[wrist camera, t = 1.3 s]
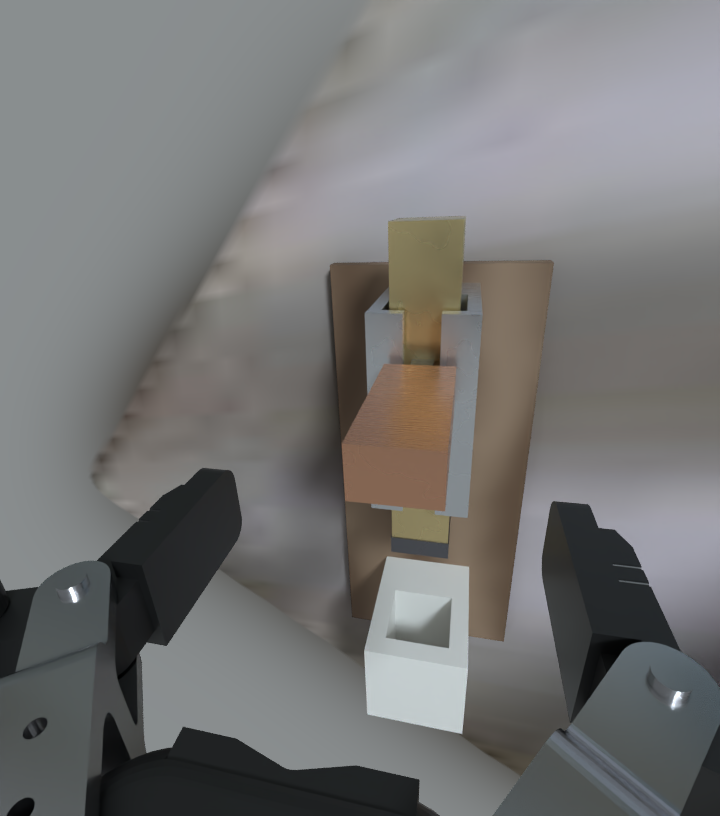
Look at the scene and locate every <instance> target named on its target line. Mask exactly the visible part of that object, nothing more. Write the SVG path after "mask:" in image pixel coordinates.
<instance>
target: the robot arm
mask: <svg viewBox="0 0 720 816" xmlns="http://www.w3.org/2000/svg"><path fill="white" fill-rule="evenodd" d="M241 525H242V517H241V511H240V505H239V500H238V494H237V489H236V483H235V478H234V475H233V473H232V472H231V471H229V470H219V469H208V468H202V469H200V470H199V471H198V472H197V473H196V474H195V475H194V476H193V477H192V478H191V479H190V480H189V481H188V482H187V483H186V484H185V485H180V486H178V487H177V488H175V489H173V490H171V491H170V492H168V493H166V494H164V495H163V496H162V497H161V498H160V499H159V500H158V501H157V502H156V503H155V504H154V505H153V506H152V507H151V508H150V511H147V512H146V513H145V514H144V515H143V516H142V517H141V518H140V519H139V522H136V523H135V524H133V526H131V527H130V528H129V529H128V530H127V532H125V533H124V534H123V535H122V536H121V537H120V538H119V539H118V540H117V541H116V543H114V544H113V545H112V546H111V547H110V548H109V549H108V550H107V551H106V552H105V553H104V554H103V555H102V556H101V557H100V558H99V559H98V560H97V561H83V562H79V563H75V564H72V565H69V566H67V567H65V568H63V569H61V570H59V571H57V572H56V573H54V574H53V575H51V576H50V577H48V578H47V579H46V580H45V581H44V582H43V583H42V584H41V585H40V586H39V587H35V588H26V589H18V590H10V591H5V589H4V587H3V585H2V583H1V581H0V816H439V815H438V814H436V812H434V811H433V810H431V809H430V808H428V807H426V806H425V805H423V804H421V803H420V802H419V780H418V779H414V778H409V777H405V776H401V775H396V774H391V773H387V772H383V771H378V770H373V769H369V768H365V767H360V766H344V767H332V768H318V769H306V770H289V769H286V768H284V767H282V766H280V765H279V764H277V763H275V762H274V761H272V760H270V759H269V758H267V757H265V756H264V755H262V754H261V753H259V752H257V751H255V750H254V749H252V748H251V747H249V746H247V745H246V744H244V743H243V742H241V741H239V740H238V739H235V738H231V737H226V736H222V735H217V734H213V733H208V732H204V731H200V730H195V729H191V728H186V727H183V728H182V730H181V732H180V734H179V736H178V737H177V739H176V741H175V743H174V745H173V747H172V748H166V749H161V750H156V751H152V752H149V753H146V748H145V741H144V725H143V724H144V722H143V691H142V662H141V657H140V654H139V652H140V651H141V649H142V648H143V647H144V645H145V644H146V642H148V643H154V644H159V645H164V646H167V645H168V643H169V641H170V640H171V639H172V637H173V635H174V634H175V632H176V631H177V629H178V628H179V627H180V625H181V624H182V622H183V620H184V619H185V617H186V616H187V615H188V613H189V612H190V610H191V609H192V607H193V606H194V604H195V603H196V601H197V600H198V598H199V596H200V595H201V593H202V592H203V591H204V589H205V588H206V586H207V585H208V583H209V582H210V580H211V579H212V577H213V576H214V574H215V573H216V571H217V570H218V568H219V567H220V565H221V564H222V562H223V561H224V559H225V558H226V556H227V555H228V553H229V552H230V550H231V549H232V547H233V546H234V544H235V543H236V541H237V539H238V537H239V534H240V531H241ZM542 577H543V584H544V589H545V594H546V600H547V605H548V610H549V615H550V621H551V626H552V631H553V636H554V641H555V647H556V652H557V657H558V662H559V668H560V673H561V678H562V683H563V688H564V694H565V699H566V704H567V709H568V715H569V720H570V723H572V724H571V725H570V726H569V727H568V729H567V730H565V731H563V730H562V729H558V730H556V731H555V732H554V733H553V734H552V735H551V736H550V737H549V739H548V740H547V741H546V743H545V744H544V745H543V747H542V748H541V750H540V751H539V752H538V754H537V755H536V756H535V758H534V759H533V761H532V762H531V763H530V765H529V766H528V767H527V769H526V770H525V772H524V773H523V774H522V776H521V777H520V779H519V780H518V781H517V783H516V784H515V785H514V787H513V788H512V790H511V791H510V792H509V794H508V795H507V796H506V798H505V799H504V801H503V802H502V803H501V805H500V806H499V808H498V809H497V810H496V812H495V813H494V815H493V816H720V688H719V686H718V685H717V683H716V682H715V680H714V679H713V678H712V677H711V675H710V674H709V673H708V672H707V671H706V670H705V669H704V668H703V667H702V666H701V665H699V664H698V663H697V662H696V661H694V660H693V659H692V658H690V657H689V656H687V655H685V654H684V653H682V652H681V651H680V649H679V647H678V644H677V642H676V640H675V638H674V636H673V634H672V631H671V629H670V627H669V625H668V623H667V621H666V619H665V616H664V614H663V612H662V610H661V608H660V606H659V603H658V601H657V599H656V597H655V595H654V593H653V590H652V588H651V587H649V582H648V580H647V577H646V575H645V573H644V571H643V570H641V565H640V562H639V560H638V558H637V556H636V554H635V552H634V549H633V547H632V546H631V545H630V544H629V543H628V542H627V541H626V540H625V539H624V538H622V537H621V536H620V535H619V534H618V533H617V532H616V531H615V530H612V529H602V528H598V526H597V523H596V520H595V518H594V515H593V513H592V510H591V508H590V506H589V505H588V504H577V503H567V502H556V501H553V502H552V504H551V507H550V513H549V519H548V524H547V530H546V536H545V542H544V548H543V555H542Z"/></svg>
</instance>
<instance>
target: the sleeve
mask: <svg viewBox="0 0 720 816" xmlns="http://www.w3.org/2000/svg"><path fill="white" fill-rule="evenodd" d="M482 316H483V313H482V300H481V286H480V283H462V300H461V311H442V322H441V350H440V366H457V367H456V386H455V405H454V419H453V430H452V441H451V452H450V463H449V474H448V485H447V496H446V507H445V511H435V515H444V516H453V517H463V518H468V507H469V493H470V479H471V466H472V452H473V438H474V425H475V411H476V398H477V384H478V370H479V357H480V343H481V330H482ZM365 338H366V367H367V395H368V393H369V391H370V389H371V387H372V386H373V384H374V382H375V380H376V378H377V376H378V374H379V372H380V370H381V369H382V367H383V365H384V364H404V310H389V287H388V288H387V289H386V290H385V292H384V293H383V294H382V295H381V296H380V297H379V298H378V299H377V300H376V301H375V302H374V304H373V305H372V306H371V307H370V308H369V309H368V310H367V311H366V312H365ZM371 508H378V509H388V510H397V511H403V507H397V506H388V505H378V504H371Z"/></svg>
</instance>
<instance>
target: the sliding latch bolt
mask: <svg viewBox="0 0 720 816" xmlns="http://www.w3.org/2000/svg"><path fill="white" fill-rule="evenodd" d="M465 225H466V216H449V217H418V218H398V219H395V220H392V221H388V241H389V310H404V364H384V365H383V367H382V369H381V370H380V372H379V374H378V376H377V378H376V380H375V382H374V384H373V386H372V387H371V389H370V391H369V393H368V395H367V397H366V399H365V401H364V403H363V404H362V406H361V408H360V410H359V412H358V414H357V416H356V418H355V420H354V421H353V423H352V425H351V427H350V429H349V431H348V433H347V435H346V436H345V438H344V440H343V442H342V456H343V472H344V488H345V501H349V502H359V503H369V504H378V505H388V506H397V507H403V511H397V510H392V535H391V552H398V553H406V554H414V555H422V556H430V557H438V558H446V559H448V550H449V536H450V522H451V516H444V515H435V511H445V507H446V496H447V485H448V474H449V463H450V452H451V441H452V430H453V419H454V405H455V386H456V367H457V366H440V350H441V322H442V311H461V300H462V281H463V262H464V243H465Z"/></svg>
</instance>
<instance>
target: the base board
mask: <svg viewBox="0 0 720 816" xmlns="http://www.w3.org/2000/svg"><path fill="white" fill-rule="evenodd" d="M553 265H554V263H553V262H552V261H551V260H539V261H464V262H463V281H462V283H480V286H481V300H482V313H483V316H482V330H481V343H480V357H479V370H478V384H477V398H476V411H475V425H474V438H473V452H472V466H471V479H470V493H469V507H468V518H463V517H453V516H451V522H450V536H449V550H448V559H446V558H438V557H430V556H422V555H414V554H406V553H398V552H391V535H392V510H388V509H378V508H371V504H369V503H359V502H349V501H345V511H346V526H347V542H348V558H349V574H350V589H351V605H352V617H355V618H361V619H367V620H372V616H373V612H374V608H375V604H376V600H377V595H378V591H379V587H380V583H381V579H382V575H383V570H384V566H385V562H386V558H387V556H389V557H397V558H404V559H412V560H420V561H428V562H435V563H443V564H451V565H459V566H466V567H469V622H468V636H472V637H479V638H485V639H491V640H497V641H503V642H504V635H505V628H506V620H507V612H508V605H509V597H510V590H511V582H512V575H513V567H514V560H515V552H516V544H517V537H518V529H519V522H520V514H521V507H522V499H523V492H524V484H525V476H526V469H527V461H528V454H529V446H530V439H531V431H532V424H533V416H534V408H535V401H536V393H537V386H538V378H539V371H540V363H541V356H542V348H543V340H544V333H545V325H546V318H547V310H548V303H549V295H550V288H551V280H552V273H553ZM330 275H331V291H332V307H333V322H334V338H335V354H336V369H337V385H338V401H339V417H340V432H341V448H342V442H343V440H344V438H345V436H346V435H347V433H348V431H349V429H350V427H351V425H352V423H353V421H354V420H355V418H356V416H357V414H358V412H359V410H360V408H361V406H362V404H363V403H364V401H365V399H366V397H367V367H366V338H365V312H366V311H367V310H368V309H369V308H370V307H371V306H372V305H373V304H374V302H375V301H376V300H377V299H378V298H379V297H380V296H381V295H382V294H383V293H384V292H385V290H386V289H387V288H388V287H389V262H371V263H333V264H331V265H330ZM342 464H343V456H342ZM343 479H344V472H343ZM344 495H345V488H344Z"/></svg>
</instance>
